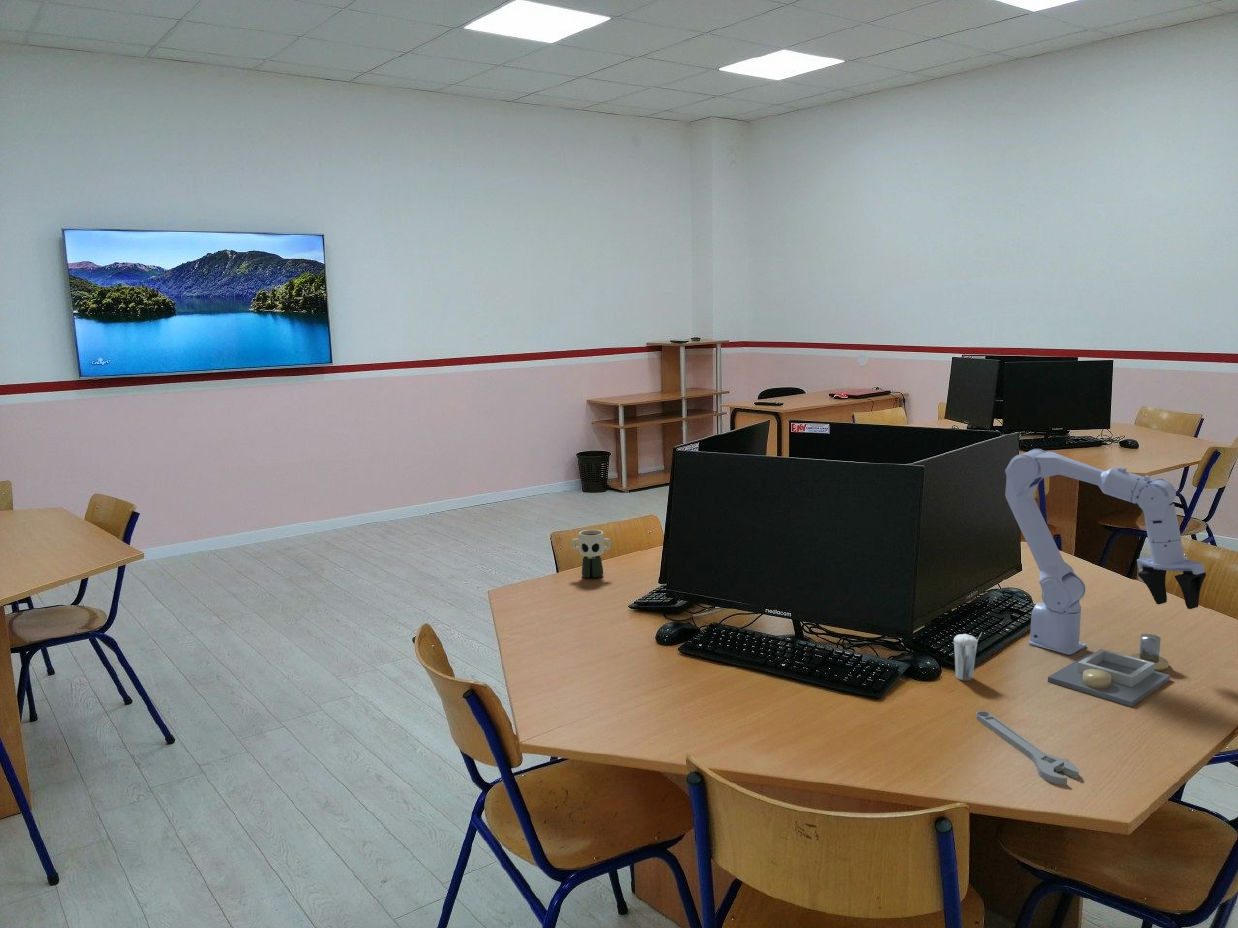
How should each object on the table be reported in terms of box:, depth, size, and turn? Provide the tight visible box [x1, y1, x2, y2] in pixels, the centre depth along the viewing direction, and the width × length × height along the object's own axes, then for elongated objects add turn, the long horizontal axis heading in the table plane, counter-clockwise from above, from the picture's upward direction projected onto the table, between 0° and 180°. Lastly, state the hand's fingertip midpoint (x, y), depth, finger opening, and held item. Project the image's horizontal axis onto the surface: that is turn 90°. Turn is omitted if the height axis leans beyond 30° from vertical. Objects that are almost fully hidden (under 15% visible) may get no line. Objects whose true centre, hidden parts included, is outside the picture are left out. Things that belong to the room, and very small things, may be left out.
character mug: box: [572, 529, 611, 578], centre depth 266 cm, size 11×7×13 cm, turn 85°
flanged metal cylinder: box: [1130, 633, 1169, 672], centre depth 193 cm, size 7×7×6 cm
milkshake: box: [953, 631, 983, 681], centre depth 189 cm, size 4×5×10 cm
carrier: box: [1047, 648, 1171, 708], centre depth 186 cm, size 16×18×3 cm
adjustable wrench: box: [975, 710, 1080, 786], centre depth 161 cm, size 25×6×2 cm, turn 7°
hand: (1176, 605), depth 187 cm, fingers open, 7 cm apart
